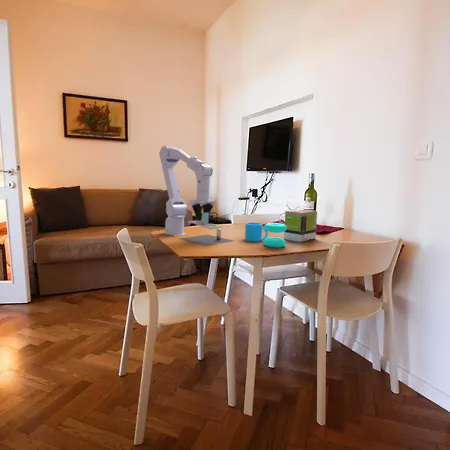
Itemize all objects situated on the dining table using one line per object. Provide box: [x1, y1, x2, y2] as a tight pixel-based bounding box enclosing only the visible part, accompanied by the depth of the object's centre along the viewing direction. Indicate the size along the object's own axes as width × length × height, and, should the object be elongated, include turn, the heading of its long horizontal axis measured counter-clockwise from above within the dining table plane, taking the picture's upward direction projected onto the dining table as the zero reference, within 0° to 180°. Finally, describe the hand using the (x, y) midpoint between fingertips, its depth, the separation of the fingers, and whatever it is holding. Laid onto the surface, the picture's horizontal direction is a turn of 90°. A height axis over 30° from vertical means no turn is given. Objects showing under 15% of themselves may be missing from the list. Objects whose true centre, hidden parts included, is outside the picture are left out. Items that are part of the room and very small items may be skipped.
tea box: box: [283, 208, 318, 243], centre depth 174 cm, size 15×10×15 cm, turn 134°
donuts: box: [263, 222, 287, 248], centre depth 155 cm, size 10×10×10 cm
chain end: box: [187, 211, 223, 230], centre depth 158 cm, size 18×7×6 cm, turn 46°
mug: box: [244, 222, 269, 242], centre depth 165 cm, size 12×8×8 cm
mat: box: [178, 234, 235, 247], centre depth 161 cm, size 19×19×1 cm
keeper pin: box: [216, 228, 222, 240], centre depth 161 cm, size 2×2×5 cm
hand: (202, 220), depth 159 cm, fingers closed on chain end, 4 cm apart
